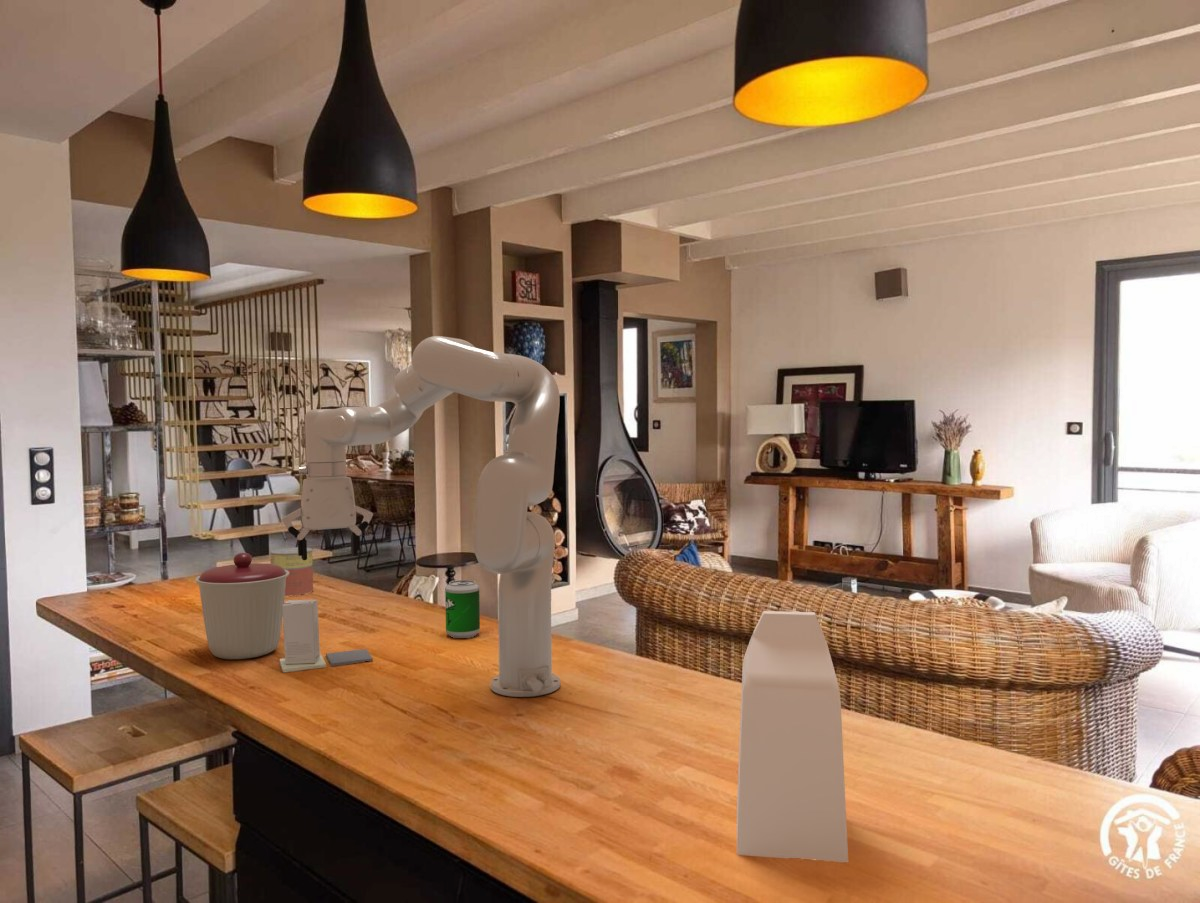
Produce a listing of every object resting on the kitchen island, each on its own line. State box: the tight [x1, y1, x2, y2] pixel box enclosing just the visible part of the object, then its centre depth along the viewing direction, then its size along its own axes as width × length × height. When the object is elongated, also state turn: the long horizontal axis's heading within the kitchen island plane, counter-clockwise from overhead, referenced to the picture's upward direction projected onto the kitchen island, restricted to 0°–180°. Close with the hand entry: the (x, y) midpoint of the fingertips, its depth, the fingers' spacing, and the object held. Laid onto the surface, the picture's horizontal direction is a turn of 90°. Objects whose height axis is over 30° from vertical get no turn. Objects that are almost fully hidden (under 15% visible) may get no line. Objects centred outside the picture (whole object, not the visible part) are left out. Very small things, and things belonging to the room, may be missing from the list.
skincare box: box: [282, 599, 321, 664], centre depth 170 cm, size 6×4×12 cm
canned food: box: [269, 546, 314, 596], centre depth 241 cm, size 11×11×12 cm
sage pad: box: [279, 653, 327, 673], centre depth 171 cm, size 8×8×1 cm
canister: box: [194, 552, 289, 660], centre depth 179 cm, size 18×18×21 cm
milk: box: [736, 610, 849, 863], centre depth 100 cm, size 12×12×26 cm
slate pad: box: [325, 648, 374, 667], centre depth 174 cm, size 8×8×1 cm
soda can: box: [444, 579, 481, 639], centre depth 192 cm, size 8×8×12 cm
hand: (329, 557), depth 171 cm, fingers open, 9 cm apart
